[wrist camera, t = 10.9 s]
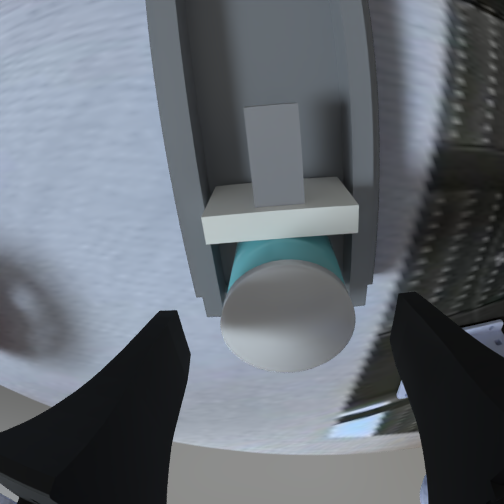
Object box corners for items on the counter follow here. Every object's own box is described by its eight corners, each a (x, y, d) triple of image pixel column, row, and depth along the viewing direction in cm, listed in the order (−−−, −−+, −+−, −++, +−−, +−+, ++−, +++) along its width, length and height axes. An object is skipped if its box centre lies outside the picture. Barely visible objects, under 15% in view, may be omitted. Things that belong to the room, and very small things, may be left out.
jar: (333, 201, 17) (366, 272, 11) (324, 282, 19) (342, 371, 13) (236, 199, 17) (215, 269, 11) (238, 280, 19) (224, 370, 13)
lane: (346, -74, 10) (364, -105, 6) (368, 275, 20) (386, 314, 17) (147, -55, 11) (121, -81, 7) (199, 288, 21) (187, 328, 17)
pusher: (333, 98, 14) (356, 102, 10) (337, 198, 16) (358, 232, 13) (204, 109, 14) (184, 116, 11) (219, 208, 17) (206, 244, 13)
